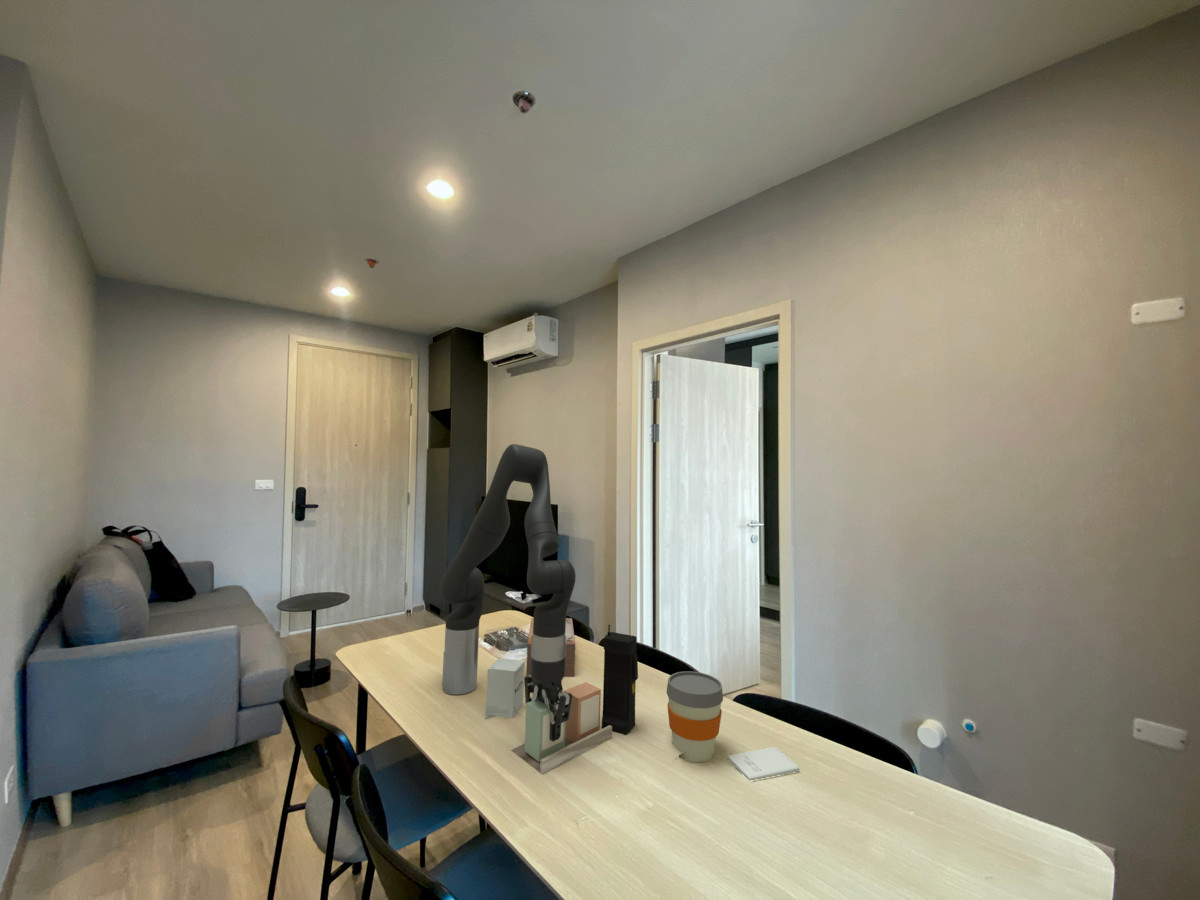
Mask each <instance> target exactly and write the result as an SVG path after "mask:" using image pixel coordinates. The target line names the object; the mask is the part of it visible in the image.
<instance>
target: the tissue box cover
mask: <svg viewBox="0 0 1200 900" xmlns="http://www.w3.org/2000/svg"><path fill="white" fill-rule="evenodd" d="M533 622H534V617H532V618H531V619H530V625H529V632H528V638H527V644H526V647H527V650H526V673H525V675H526V676H529V675H530V669H531V644H532V637H533ZM565 637H566V663H565V676H564V677H563V678H574V677H575V673H576V671H575V670H576V669H575V666H576V665H575V664H576V640H575V639H576V637H575V631H574V624H573V618H570V617H569V618H568V617H566V629H565ZM526 676H525V677H526Z"/></svg>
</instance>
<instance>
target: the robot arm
mask: <svg viewBox="0 0 1200 900" xmlns="http://www.w3.org/2000/svg"><path fill="white" fill-rule="evenodd" d="M514 482H518V483H519V482H520V483H523V484H524V483H525V484H529V485H530V487H531V490H532V498H531V501H530V503H529V506H528V507H527V510H526V513H525V515H524V523H523V524H524V525H523V526H524V531H525V537H526V542H527V543H526V544H527V546H528V547H527V548H528V561H527V562H528V563H527V572H526V584H527V587H528V589H529V591H530V592H531V593H532V594H534V595H536V596H537V595H538V596H543V595H552V594H553V595H552V597H551V598H550V599H549V600H548V601H545V602H543V603H541V604H538V605H537V606H536V607H535V608H534V611H533V618H534V622H533V637H532V644H531V669H530V675H529V676H524V697H525V704H526V703H528V702H531V701H538V700H539V701H541V702H544V703H545V705H546V709H547V711H548V712H549V713H550V720H551V723H550V740H551V741H555V740H557V739H559V737H560V736H561V723H563V722H565V721H567V720H568V719H569V714H570V707H571V701H572V694H571V693H568V694H566V693H565V692H564V691H565V690H563V684H562V683H563V682H562V681H563V679H564V678H565V677H564V676H565V663H566V637H565V629H566V618H567V612H568V608H569V605H570V600H571V597H572V594H573V592H574V591H573V590H574V588H575V584H576V578H577V577H576V570H575V568H574V566H573V565H574V564H572V562H571V561H569V560H566V559H560V560H559V559H558V560H544V558H547V557H549V556H552V555H554V554H555V553H556V552H558V550H559V548H560V541H559V537H558V532H557V528H556V525H555V520H554V518H553V517H554V516H553V511H552V503H551V502H552V501H551V487H550V486H551V485H550V471H549V464H548V459H547V456H546V454H545V453H544V451H542V450H540V449H539V448H534V447H529V446H525V445H521V444H516V443H512V444H509V445H508V446H506V448H505V449H504V450H503V452H502V455H501V457H500V460H499V462H498V463H497V467H496V470H495V473H494V475H493V478H492V481H491V483H490V485H489V488H488V491H487V493H486V495H485V498H484V500H483V501H482V504H481V505H480V506H479V507H480V508H479V510H478V511H477V514H476V515H475V517H474V520H473V521H472V523H471V525H470V528H469V530H468V532H467V535H466V536H465V539H464V541H463V542H462V545H461V546H460V549H459V550H458V552H457V554H456V555H455V557H454V559H453V560H452V562H451V563H450V564H449V566H448V568H447V569H446V571H445V572H444V575H443V576H442V580H441V583H440V589H439V590H440V596H441V598H442V601H444V602H445V603H446V604H451V605H453V604H456V605H457V604H459V605H458V606H457V607H456V609H454V610H453V611H452V612H450V613H449V614H448V615H446V619H445V633H444V651H443V659H442V660H443V661H442V665H443V666H442V680H441V681H442V682H441V686H442V691H443V692H444V693H445V694H448V695H458V696H459V695H464V694H468V693H471V692H473V691H474V690H476V688H477V683H478V663H479V639H480V638H479V637H480V620H481V617H482V615H483V607H484V606H483V604H484V596H485V579H484V574H483V573H482V571H481V570H480V569H479V568H477V566H478V565H480V564H481V563H482V562H483V561H484V560H486V559H487V558H488V557H489V556H490V555H492V554H493V552H495V551H496V550H497V548H498V547H499V546H500V545H501V543H502V542H503V540H504V538H505V536H506V534H507V532H508V530H509V528H510V525H511V516H510V511H509V506H508V505H509V504H508V498H507V495H508V492H509V489H510V487H511V485H512V483H514ZM531 694H532V696H531ZM555 702H556V705H555V706H551V704H553V703H555ZM555 710H557V716H555V714H554V711H555ZM563 713H564V715H563Z"/></svg>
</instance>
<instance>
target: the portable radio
mask: <svg viewBox="0 0 1200 900" xmlns="http://www.w3.org/2000/svg"><path fill="white" fill-rule="evenodd" d="M607 626H608V628H607V629H608V631H607V634H606V635H605V636H604V638H603V650H604V652H603V653H604V656H603V657H604V658H603V686H602V687H603V689H602V692H603V693H602V695H603V697H602V715H601V729H603V728H605V727H607V726H609V725H611V726H612V733H617V734H621V735H624V736H627V735H629V733H630V732H631V731H632V730H633V729H634V727H635V726H636V684H637V683H636V681H637V680H638V679H639V669H638V666H639V665H638V662H639V661H638V654H637V638H638V637H637V636H635V635H631V634H630V635H629V634H625V633H619V632H615V631H611V630H610V629H611V624H608V625H607Z"/></svg>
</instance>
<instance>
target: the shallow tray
mask: <svg viewBox="0 0 1200 900" xmlns="http://www.w3.org/2000/svg"><path fill="white" fill-rule="evenodd" d="M612 738H613V731H612V726H611V725H609V726H607V727H605V728H603V729H602V728H600V730H599V731H597V732H595V733H593V734H591V735H589V736H587V737H585V738H583V739H581V740H579V741H577V742H575V743H573V742H572V741H570V740H569V739H567V738H566V737H565V748H563V749H561V750H559V751H557V752H555V753H553V754H551V755H549V756H547V757H545V758H543V759H541V760H540V761H537V760H536V759H534V758H533V757H532V756H530V755H529V754H528V753H526V752H525V743H523V744H521V745H518V746H517V747H515V748H512V749H510V751H511V752H512V753H514V754H515V755H516V756H518V758H520V759H522V760H523V761H524V762H526V763H527V764H528V765H529V766H531V767H533V769H534V770H536V771H537V772H539V773H540V774H541V775H544V774H546V773H547V772H549V771H551V770H553V769H555V768H557V767H559V766H561V765H563V764H564V763H566V762H568V761H570V760H572V759H574V758H576V757H578V756H579V755H582V754H583V753H585V752H588V751H589V750H591V749H592V748H594V747H596V746H599V745H601V744H602V743H604V742H606V741H608V740H610V739H612Z"/></svg>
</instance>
